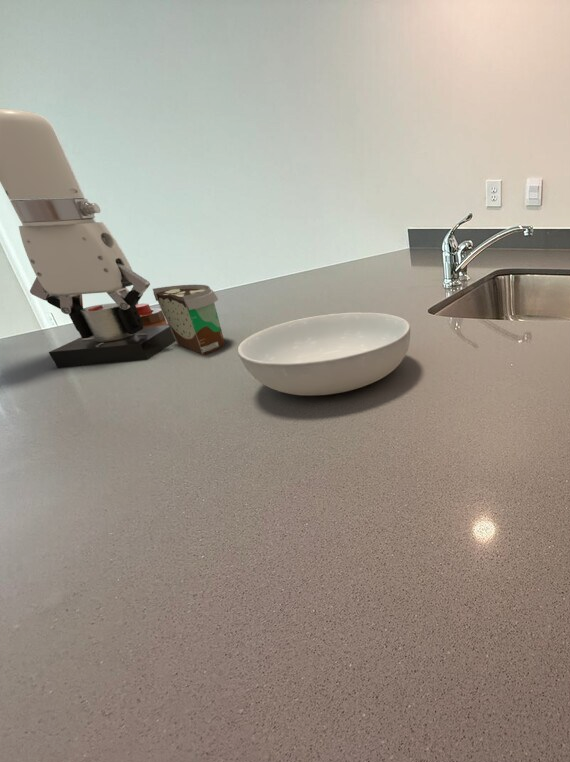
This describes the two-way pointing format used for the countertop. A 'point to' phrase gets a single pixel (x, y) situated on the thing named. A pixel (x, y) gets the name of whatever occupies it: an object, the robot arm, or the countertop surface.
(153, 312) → the igniter
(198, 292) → the food container
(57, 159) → the robot arm
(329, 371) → the serving bowl
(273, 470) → the countertop surface
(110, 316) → the stove knob
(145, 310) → the button
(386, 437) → the countertop surface
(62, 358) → the stove panel
